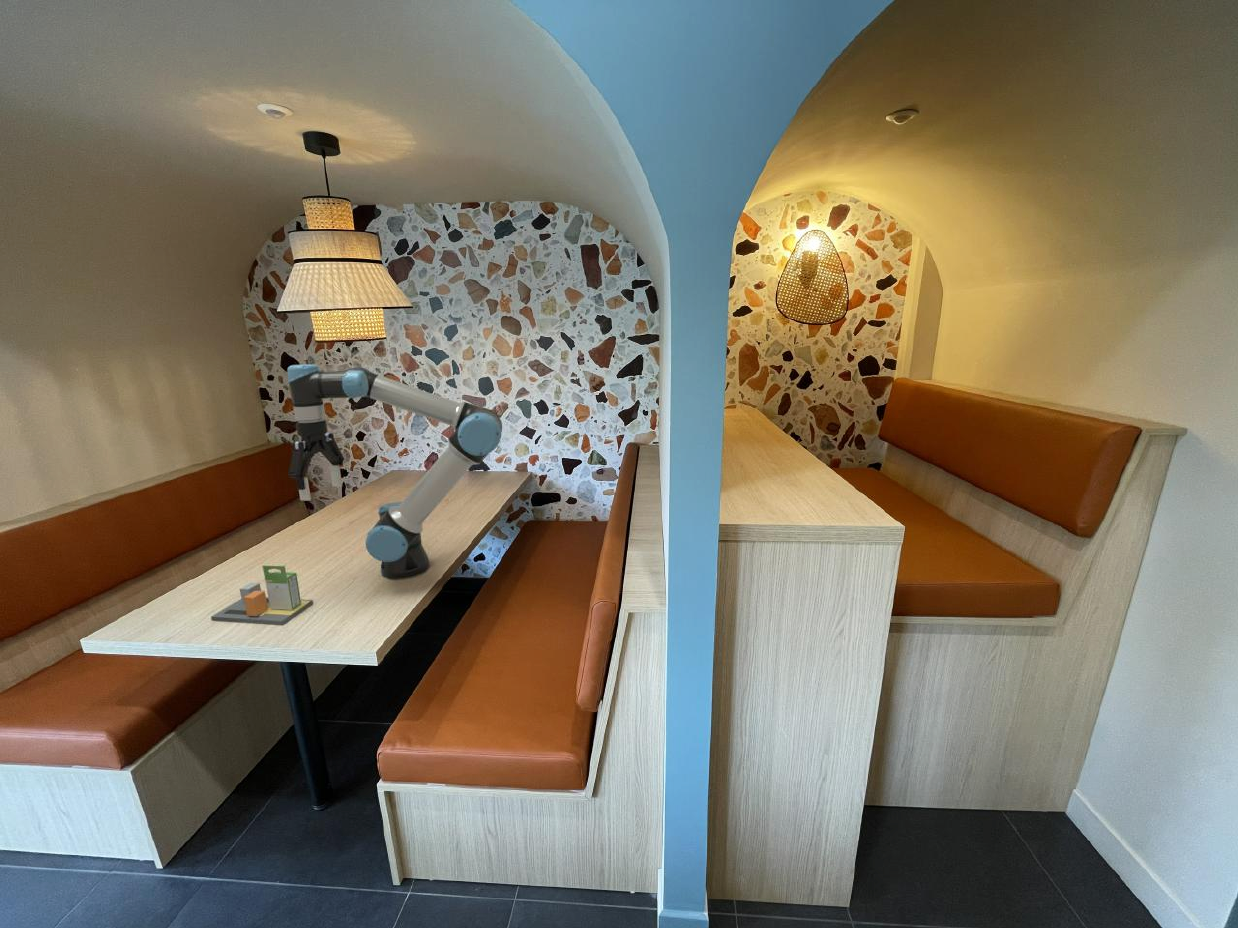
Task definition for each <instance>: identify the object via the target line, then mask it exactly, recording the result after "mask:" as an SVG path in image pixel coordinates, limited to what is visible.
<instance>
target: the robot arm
mask: <svg viewBox="0 0 1238 928" xmlns="http://www.w3.org/2000/svg"><path fill="white" fill-rule="evenodd" d="M287 379H288V381H287V383H288V387H289V391H290V396H291V397H290V398H291V404H292V408H293V413H294V420H295V421H297V422H296V423H295V427H296V428H295V429H296V433H297V435H298V436H300V439H301V440H300V441H293V442H292V455H291V459H290V465H289V469H288V470H289V471H288V478H292V479H295V482H296V487H297V488H296V489H297V490H298V493H299V499H300V500H299V501H303V502H304V501H305V502H306V501H308V502H309V501H311V500H312V497H311V491H310V485H309V479H308V476H306V475H307V472H308V469H309V466H310V463H311V460H312V458H313V457H314V456H315V455H317V454H318V453H321V454H322V456H323V457H324V458H325V459H326V460H327V461H328V462H329V463H330V464H331V465H329V472H330V479H331V485H332V487H334V488H338V487H339V488H342V487H343V481H342V476H341V475H342V473H341V465H343V464H344V461H345V456H344V455H343V453H342V451H341V449H340V448H339V446H338V444H337V442H336V440H335V436H334V433H333V432H331V433H329V432H328V425H327V421H326V420H325V419H326V411H325V405H324V400H326V399H348V398H349V399H350V398H351V399H357V398H364V397H365V398H369V399H372V400H374V401H378V402H380V403H383V404H386V405H389V406H392V407H395V408H398V409H401V410H404V411H407V412H410V413H411V414H412V413H413V414H416V415H418V416H422V417H424V418H426V419H427V418H428V419H430V420H433V421H436V422H440V423H442V424H445V425H448V426H451V427H452V429H453V430H454V432H453V433H452V434H451V435H450V436H449V437H448V439H447V440H448V441H447V442H448V447H447V448H446V449H445V450H444V452H442V454H440V456H439V458H437V460H436V461H435V462H434V463H433V464H432V465H431V467H429V469H428V470H427V472H426V473H425V474H424V475H423V476H422V477H421V479H420V480H419V481H418V482H416V485H414V487H413V488H412V489H411V490H410V492H409V493H408V494H407V495H406V496H405V498H404V499H403V500H401V501H394V502H388V503H383V504H381V505H380V506H379V507H378V515H379V519H378V521H377V522H376V523H375V525H374V526H373V527H372V528H371V529H370V530H369V531H368V532H367V535H366V539H365V548H366V550H367V552H368V553H369V555H370V556H371V557H372V558H373V559H375V560H376V561H379V562H380V563H381V564H380V574H381V576H382V577H383V578H385V579H389V580H402V579H409V578H414V577H416V576H419V575H422V574H423V573H425V572H427V571H428V570H429V569H430V566H431V564H430V558H429V556H428V554H427V551H425V548H424V546H423V543H422V534H421V533H423V529H424V528H423V523H424V522H425V520H426V519H427V518H428V517H429V516H430V515H431V514H432V512H433V511H434V510H435V508H437V507H438V505H439V504H440V503H441V502H442V501H443V499H444V498H445V497H446V496H447V495H448V494H449V492H450V491H451V490H452V489H453V488H454V487H455V485H456V484H457V483H458V482H459V481H460V480H461V479H462V477H463V476H464V475H465V474H466V473H467V472H468V470H469V469H470V468H471V467H472V466H473V465H480V464H481V463H482V462H483V461H484V460H485V458H486V457H487V456H488V455H489V454H490V453H492V452H493V451H495V449H497V447H498V445H499V444H500V441H501V439H502V432H503V423H502V420H501V417H500V416H499V415H498V414H497V413H496V412H495V411H493V410H491V409H489V408H487V407H483V406H480V405H475V404H472V403H469V402H466V401H462V402H461V403H459V402H457V401H454V400H451V399H448V398H445V397H442V396H439V395H437V394H434V393H430V392H428V391H425V390H422V389H420V388H417V387H414V386H412V385H408V384H406V383H402V382H400V381H398V380H394V379H391V378H389V377H386V376H382V375H380V374H376V373H374V372H372V371H370V370H369V369H368V368H366V367H365V368H364V367H361V366H355V367H352V368H349V369H343V370H334V371H333V370H332V371H329V370H327V371H324V370H323V371H322V370H321V371H320V369H319V367H318V365H317V364H315V363H314V364H313V363H312V364H310V363H309V364H308V363H307V364H292V365H290V366H288V367H287Z"/></svg>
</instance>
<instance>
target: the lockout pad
mask: <svg viewBox="0 0 1238 928" xmlns="http://www.w3.org/2000/svg"><path fill="white" fill-rule="evenodd" d="M309 602H310V601H302V600H301V604H300V605H299V606H297V607H296V608H294V609H293V610H283V609H270V608H268V609H267V610H266V611H264V612H263V613H261V614H272V615H288V616H290V615H292V614H293V613H295V612H296V611H298V610H299V609H300V608H302V607H303V606H305V605H306V604H308V603H309Z"/></svg>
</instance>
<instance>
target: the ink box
mask: <svg viewBox="0 0 1238 928" xmlns="http://www.w3.org/2000/svg"><path fill="white" fill-rule="evenodd" d="M272 569H273V570H279V571H273V572H270V570H272ZM262 570H263V575H264V581H265V588H266V593H267V597H268V598H269V604H270V609H283V610H293V609H294V608H296V607H297V606H299V605H300V604H301V599H302V598H301V595H300V588H299V583H298V582H299V581H298V575H297V572H287V570H286V566H285V565H262Z"/></svg>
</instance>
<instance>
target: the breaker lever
mask: <svg viewBox="0 0 1238 928" xmlns="http://www.w3.org/2000/svg"><path fill="white" fill-rule="evenodd" d="M266 597H267V596H266V591H265V590H261V591H254V592H252V593H250V594H249V595H247V596H245V597H244V602H245V607H246V612H247V616H258V615H260V614H261V613H263V612H264V611H266V610H267V609H268V606H267V601H266Z"/></svg>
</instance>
